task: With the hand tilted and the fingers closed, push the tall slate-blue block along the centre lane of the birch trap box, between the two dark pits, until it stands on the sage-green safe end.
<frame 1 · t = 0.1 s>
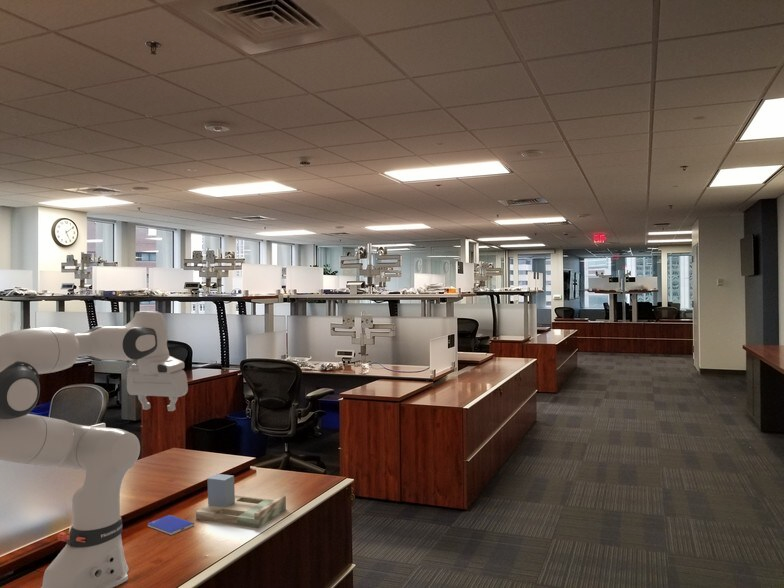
hand: (159, 409, 172), 39 cm above the table, tool pointing down, fingers open, 8 cm apart
slate block: (221, 503, 194), point 2 cm above the table, touching trap box
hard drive: (170, 528, 182), on the table
trap box: (241, 513, 191), on the table
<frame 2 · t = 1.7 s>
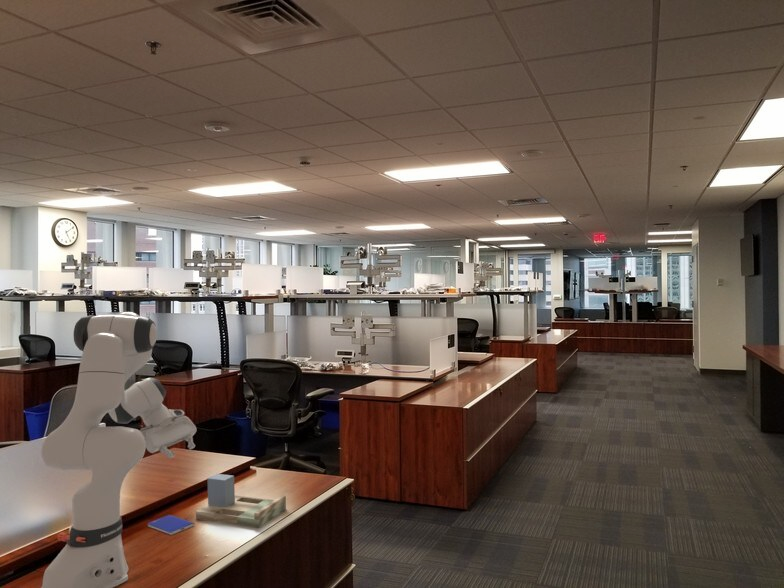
hand: (183, 452, 199), 19 cm above the table, tool tilted 45°, fingers open, 8 cm apart
nothing on the table moved.
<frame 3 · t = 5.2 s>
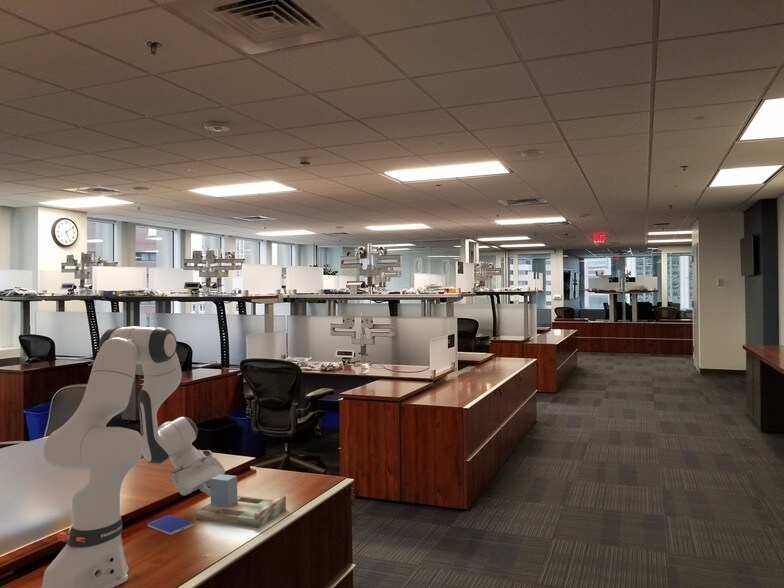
hand: (213, 494, 195), 5 cm above the table, tool tilted 45°, fingers closed
slate block: (224, 504, 193), point 3 cm above the table, touching trap box
everything else where it was.
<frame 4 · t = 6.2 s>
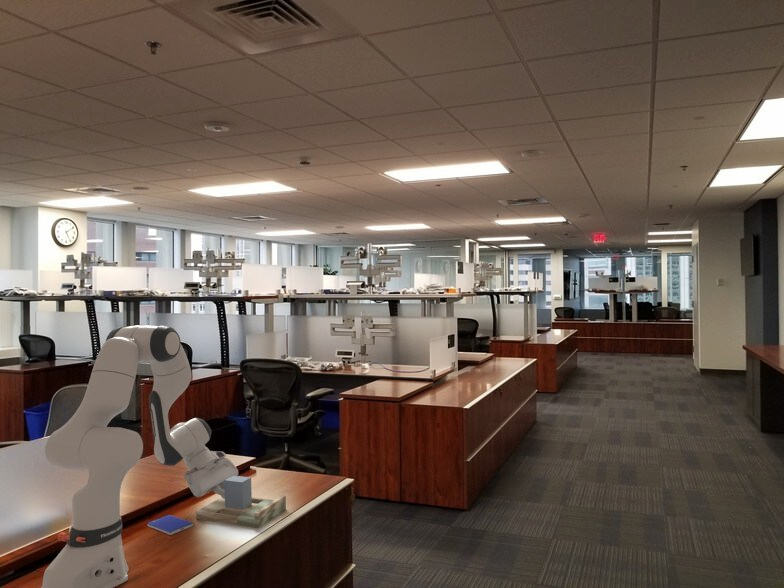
hand: (227, 496, 193), 5 cm above the table, tool tilted 45°, fingers closed, pressing on slate block
slate block: (238, 505, 191), point 3 cm above the table, touching gripper, trap box
everything else where it was.
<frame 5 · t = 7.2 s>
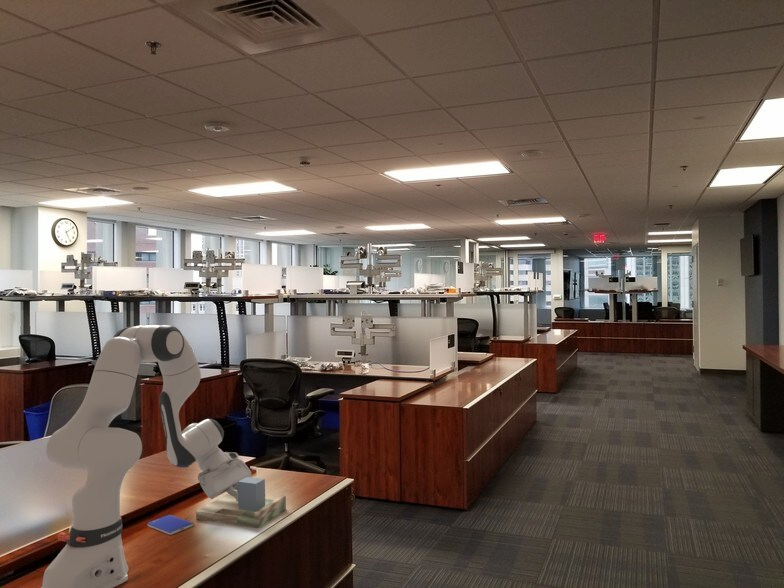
hand: (241, 497, 191), 5 cm above the table, tool tilted 45°, fingers closed, pressing on slate block
slate block: (252, 507, 189), point 3 cm above the table, touching gripper
everything else where it was.
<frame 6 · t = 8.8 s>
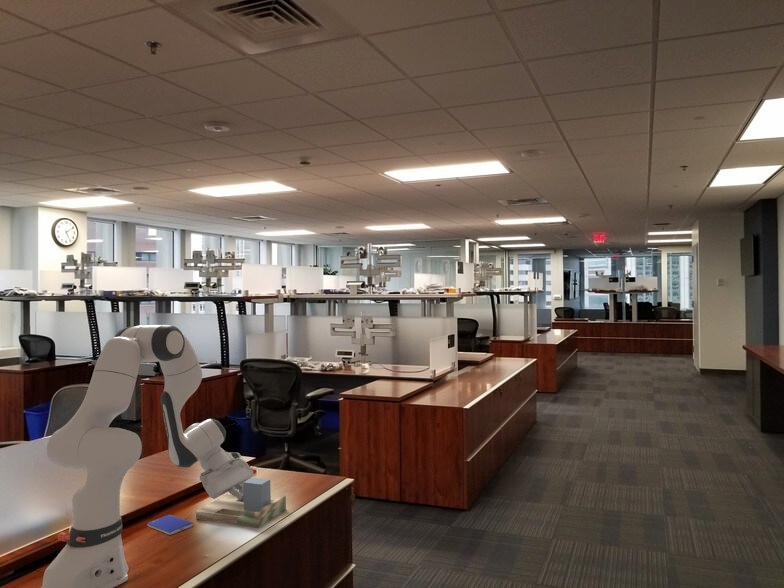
hand: (243, 497, 190), 6 cm above the table, tool tilted 45°, fingers closed
slate block: (257, 508, 189), point 2 cm above the table, touching trap box
everything else where it was.
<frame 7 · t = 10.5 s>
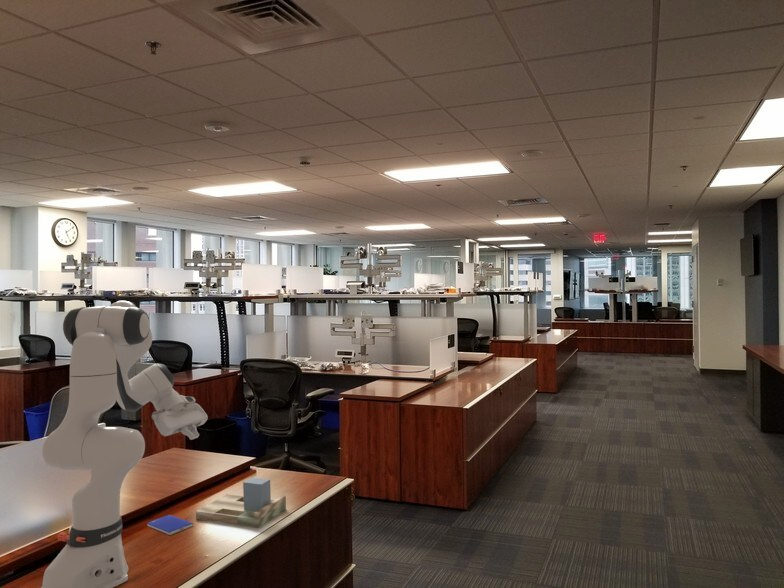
hand: (195, 437, 195), 25 cm above the table, tool tilted 45°, fingers closed
nothing on the table moved.
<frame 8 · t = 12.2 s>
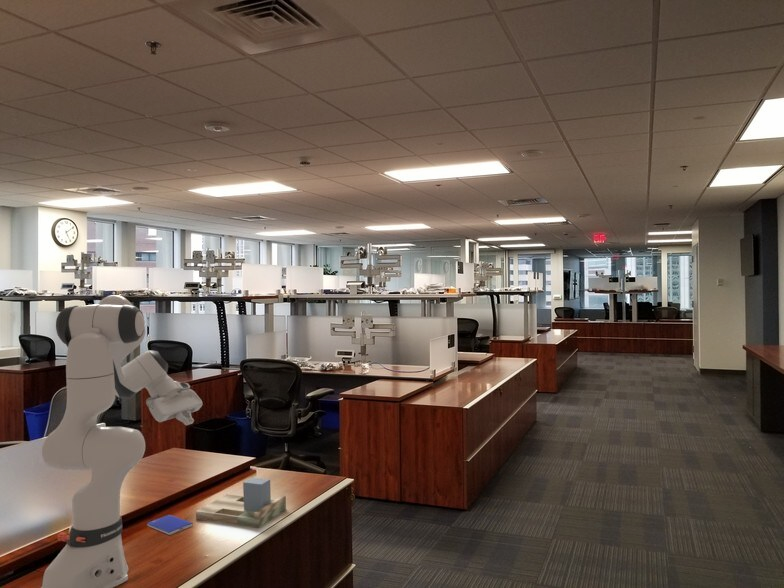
hand: (190, 423, 195), 29 cm above the table, tool tilted 45°, fingers closed
nothing on the table moved.
at the end: slate block inside the target area on the trap box (1.2 cm from its centre), point 2.5 cm above the trap box's base; slate block tilted 0° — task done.
